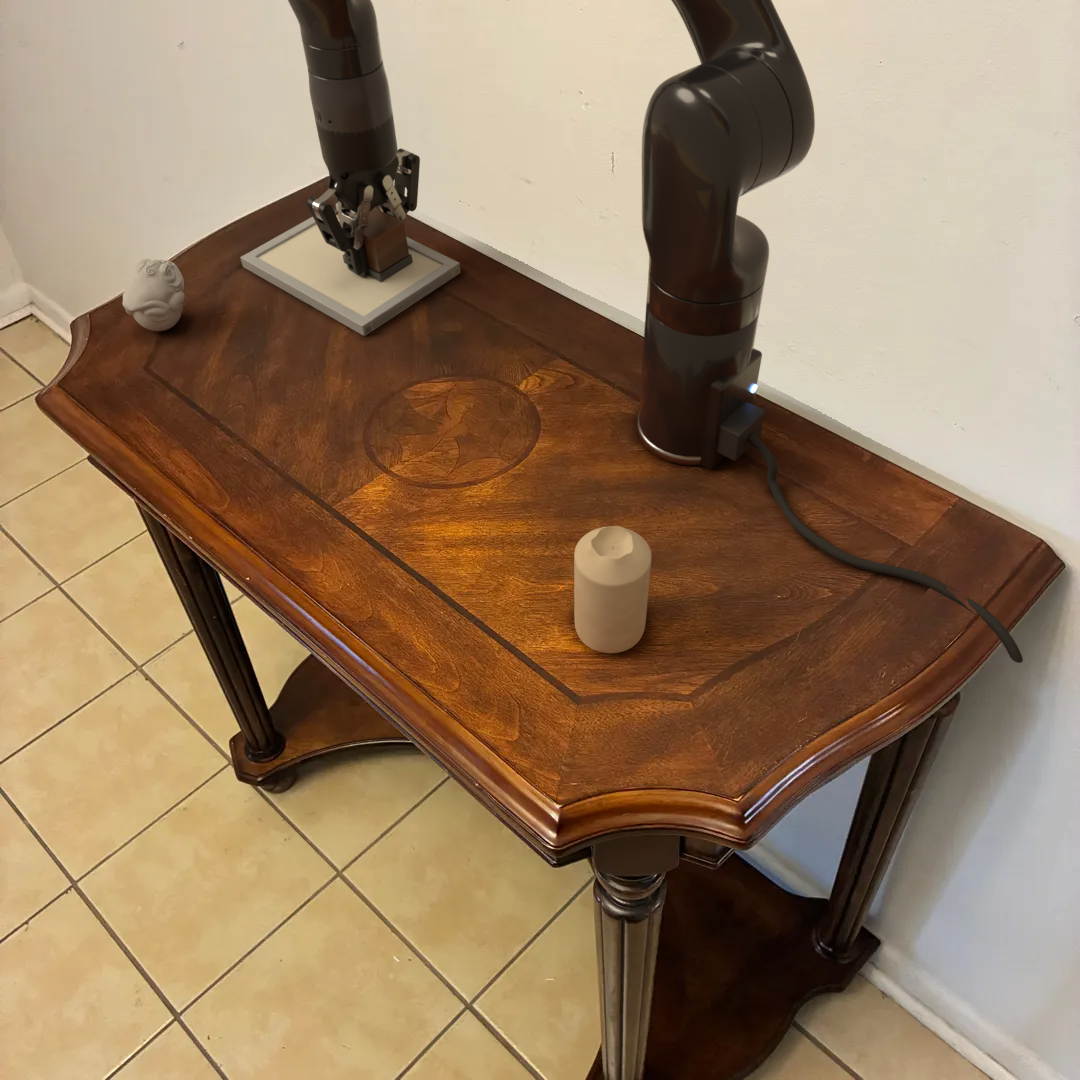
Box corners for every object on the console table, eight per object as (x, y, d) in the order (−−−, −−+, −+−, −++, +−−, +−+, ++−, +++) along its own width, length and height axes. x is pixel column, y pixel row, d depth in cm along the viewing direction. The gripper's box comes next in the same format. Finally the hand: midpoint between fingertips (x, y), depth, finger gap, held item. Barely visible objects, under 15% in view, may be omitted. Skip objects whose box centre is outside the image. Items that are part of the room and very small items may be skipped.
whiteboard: (460, 272, 109) (459, 262, 108) (364, 336, 102) (362, 326, 101) (339, 212, 118) (337, 202, 117) (242, 267, 111) (239, 257, 110)
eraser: (413, 262, 109) (407, 221, 105) (381, 282, 106) (374, 241, 103) (375, 243, 111) (368, 203, 108) (343, 263, 109) (335, 222, 105)
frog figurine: (209, 312, 105) (189, 255, 100) (168, 350, 101) (145, 293, 96) (163, 299, 107) (141, 243, 102) (120, 337, 103) (96, 280, 98)
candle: (646, 654, 75) (654, 571, 68) (574, 654, 75) (574, 572, 68) (643, 597, 79) (650, 512, 71) (574, 597, 79) (574, 512, 71)
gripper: (322, 151, 91) (353, 306, 104) (432, 94, 98) (448, 246, 111) (270, 127, 94) (306, 280, 107) (380, 73, 101) (401, 223, 114)
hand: (378, 262), depth 109 cm, fingers closed on eraser, 4 cm apart
